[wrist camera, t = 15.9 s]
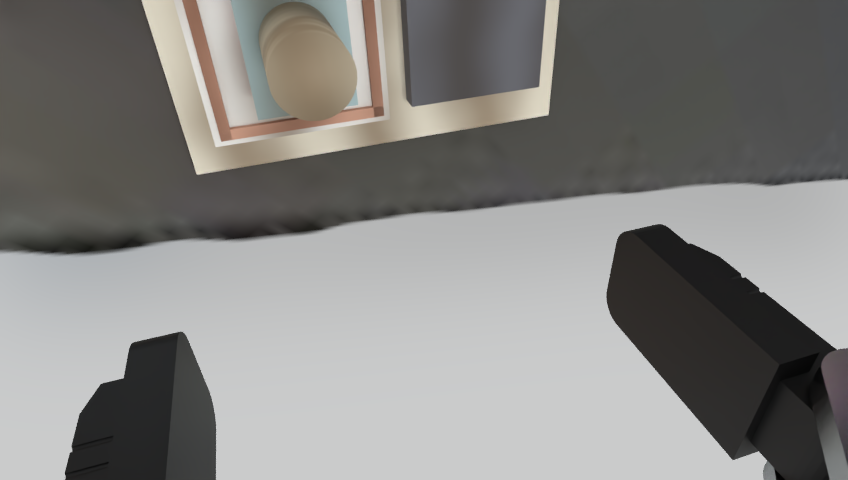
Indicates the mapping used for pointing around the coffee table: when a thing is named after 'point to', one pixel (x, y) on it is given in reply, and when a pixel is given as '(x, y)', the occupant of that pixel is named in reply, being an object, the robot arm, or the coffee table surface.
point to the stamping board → (361, 76)
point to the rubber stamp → (297, 57)
